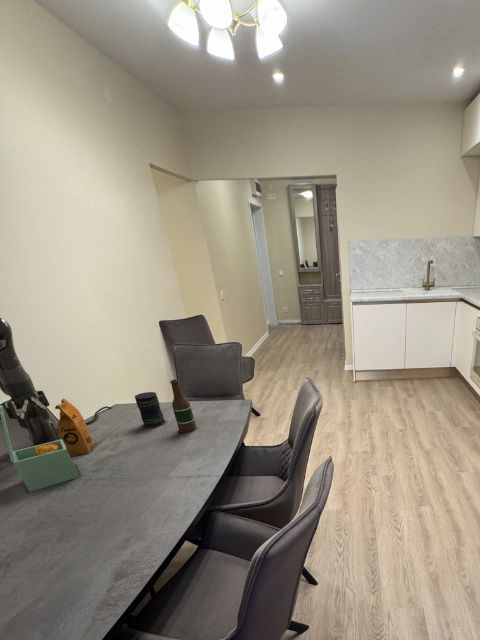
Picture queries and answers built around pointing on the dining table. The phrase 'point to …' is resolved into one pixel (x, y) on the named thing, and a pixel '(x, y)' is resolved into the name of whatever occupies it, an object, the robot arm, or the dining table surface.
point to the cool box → (44, 466)
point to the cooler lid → (6, 433)
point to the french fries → (46, 449)
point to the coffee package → (73, 429)
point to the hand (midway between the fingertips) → (36, 423)
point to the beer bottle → (182, 409)
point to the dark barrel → (150, 409)
